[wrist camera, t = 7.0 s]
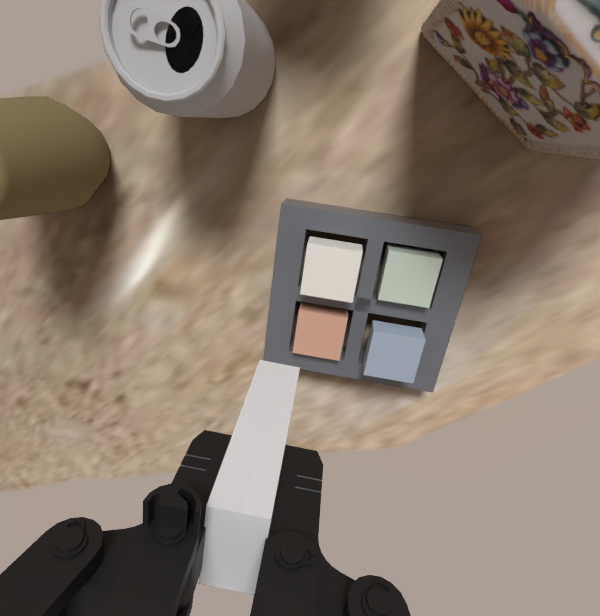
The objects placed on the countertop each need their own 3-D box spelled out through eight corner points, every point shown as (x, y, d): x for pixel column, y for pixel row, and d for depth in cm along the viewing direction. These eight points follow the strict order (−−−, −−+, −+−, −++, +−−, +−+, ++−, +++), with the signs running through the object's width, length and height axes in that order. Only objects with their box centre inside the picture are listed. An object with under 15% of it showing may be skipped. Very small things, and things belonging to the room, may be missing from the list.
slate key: (362, 355, 37) (363, 374, 35) (371, 314, 36) (373, 330, 33) (408, 363, 37) (413, 383, 34) (419, 322, 36) (425, 339, 33)
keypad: (268, 348, 40) (263, 362, 38) (286, 198, 35) (281, 203, 32) (428, 376, 40) (432, 392, 37) (472, 227, 34) (481, 235, 32)
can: (258, 133, 33) (211, 139, 22) (166, 95, 33) (72, 81, 22) (292, 25, 30) (257, -30, 19) (191, -18, 30) (97, -101, 19)
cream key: (304, 280, 35) (299, 294, 32) (311, 232, 34) (307, 242, 31) (352, 288, 35) (352, 302, 32) (361, 240, 33) (362, 251, 31)
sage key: (375, 285, 36) (377, 299, 34) (385, 239, 35) (388, 250, 32) (423, 293, 36) (429, 308, 33) (435, 247, 35) (442, 259, 32)
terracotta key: (297, 335, 39) (292, 352, 36) (302, 295, 38) (298, 309, 35) (340, 343, 39) (339, 360, 36) (348, 303, 37) (348, 318, 34)
